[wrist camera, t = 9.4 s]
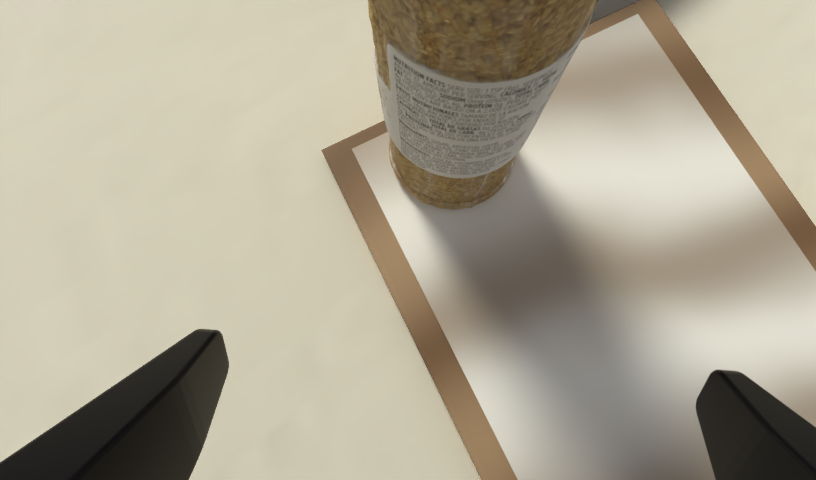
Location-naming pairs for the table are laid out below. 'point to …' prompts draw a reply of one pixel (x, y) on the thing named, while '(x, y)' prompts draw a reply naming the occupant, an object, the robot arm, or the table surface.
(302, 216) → the table surface
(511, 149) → the sprinkles bottle
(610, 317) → the clipboard
